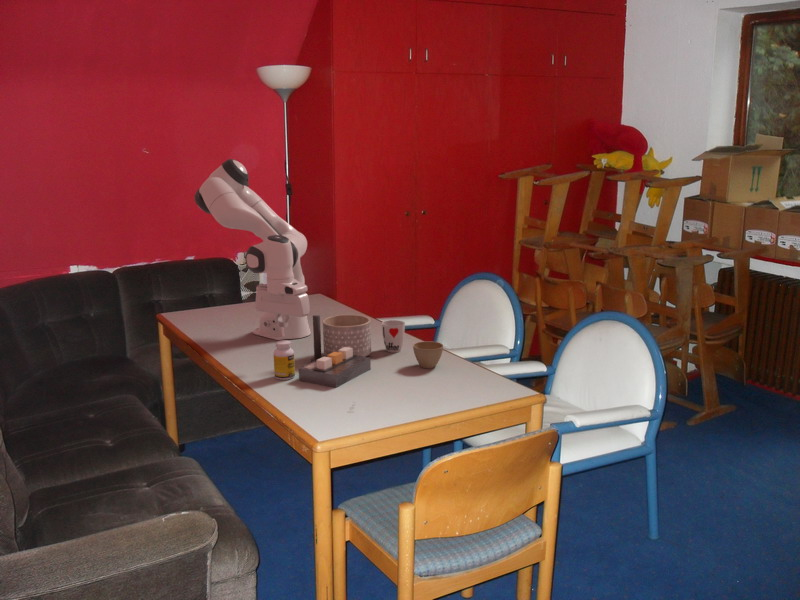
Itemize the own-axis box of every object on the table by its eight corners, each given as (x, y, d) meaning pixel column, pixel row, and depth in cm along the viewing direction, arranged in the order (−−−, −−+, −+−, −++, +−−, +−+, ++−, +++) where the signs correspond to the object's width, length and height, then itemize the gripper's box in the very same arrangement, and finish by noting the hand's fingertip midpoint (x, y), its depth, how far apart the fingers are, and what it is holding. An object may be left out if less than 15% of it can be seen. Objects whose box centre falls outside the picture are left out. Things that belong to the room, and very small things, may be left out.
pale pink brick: (338, 358, 245) (338, 350, 245) (345, 355, 249) (345, 346, 248) (346, 359, 244) (345, 351, 243) (352, 356, 247) (352, 348, 247)
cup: (378, 351, 266) (377, 324, 264) (389, 345, 273) (388, 319, 271) (398, 354, 262) (398, 327, 260) (409, 348, 269) (408, 321, 267)
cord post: (307, 362, 255) (305, 316, 251) (316, 358, 259) (314, 313, 255) (319, 364, 252) (318, 318, 249) (328, 360, 257) (326, 315, 253)
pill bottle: (286, 381, 236) (284, 346, 233) (270, 378, 239) (268, 343, 237) (299, 376, 241) (297, 341, 239) (283, 372, 245) (282, 338, 242)
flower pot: (433, 372, 243) (433, 351, 242) (407, 367, 249) (407, 346, 247) (448, 364, 252) (448, 343, 250) (423, 359, 257) (422, 339, 255)
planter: (380, 356, 261) (380, 321, 258) (340, 366, 251) (339, 329, 248) (354, 346, 273) (353, 312, 270) (314, 354, 264) (313, 319, 261)
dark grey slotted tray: (299, 380, 237) (298, 367, 236) (335, 363, 254) (334, 350, 253) (336, 387, 230) (335, 374, 229) (370, 369, 247) (370, 356, 246)
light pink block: (316, 368, 235) (316, 360, 235) (324, 365, 239) (323, 356, 238) (324, 370, 234) (324, 361, 233) (331, 366, 237) (331, 357, 236)
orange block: (327, 363, 240) (327, 354, 240) (334, 359, 244) (334, 351, 243) (335, 364, 239) (335, 356, 238) (342, 361, 242) (342, 352, 242)
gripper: (249, 284, 248) (252, 325, 251) (299, 290, 238) (301, 332, 241) (262, 281, 253) (265, 321, 256) (311, 286, 243) (313, 328, 246)
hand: (283, 326), depth 249 cm, fingers closed
